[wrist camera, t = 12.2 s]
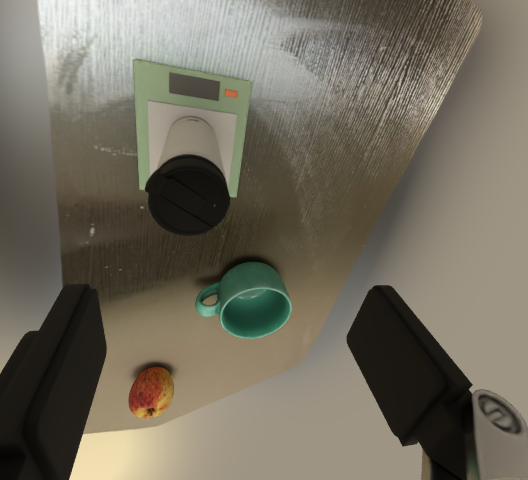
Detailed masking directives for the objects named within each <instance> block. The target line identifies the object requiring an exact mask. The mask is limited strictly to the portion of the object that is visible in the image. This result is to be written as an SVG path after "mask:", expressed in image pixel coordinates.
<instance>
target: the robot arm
mask: <svg viewBox="0 0 528 480" xmlns="http://www.w3.org/2000/svg"><path fill="white" fill-rule="evenodd" d="M347 344H348V346H349V348H350V350H351V352H352V354H353V356H354V358H355V360H356V362H357V364H358V366H359V368H360V370H361V372H362V374H363V376H364V378H365V380H366V382H367V384H368V386H369V388H370V390H371V392H372V393H373V396H374V397H375V399H376V401H377V403H378V405H379V407H380V409H381V411H382V413H383V415H384V417H385V419H386V421H387V423H388V425H389V427H390V429H391V431H392V432H393V434H394V435H395V436H397V437H398V438H399V440H400V442H401V444H402V446H408V445H414V444H417V443H418V442H419V443H420V445H421V446H422V448H423V456H422V479H421V480H528V427H527V425H526V422H525V420H524V419H523V417H522V416H521V414H520V413H519V412H518V411H517V410H516V409H515V407H514V406H513V405H512V404H510V403H509V402H508V401H507V400H505V399H504V398H502V397H501V396H499V395H498V394H496V393H493V392H491V391H489V390H484V389H479V390H476V391H475V392H474V393H473V394H472V393H471V392H470V391H469V388H470V387H471V386H472V383H471V382H470V381H469V380H468V378H467V377H466V376H465V375H464V374H463V372H462V371H461V370H460V369H459V368H458V366H457V365H456V364H455V363H454V362H453V360H452V359H451V358H450V357H449V355H448V354H447V353H446V352H445V350H444V349H443V348H442V347H441V346H440V345H439V343H438V342H437V341H436V339H435V338H434V337H433V336H432V335H431V333H430V332H429V331H428V330H427V329H426V327H425V326H424V325H423V324H422V322H421V321H420V320H419V319H418V318H417V317H416V315H415V314H414V313H413V311H412V310H411V309H410V308H409V307H408V305H407V304H406V303H405V302H404V301H403V299H402V298H401V297H400V296H399V294H398V293H397V292H396V291H395V290H394V288H392V287H391V286H389V285H376V286H374V287H373V288H372V289H371V290H369V291H368V294H367V295H366V298H365V299H364V302H363V304H362V306H361V308H360V310H359V312H358V314H357V316H356V318H355V320H354V322H353V324H352V326H351V328H350V331H349V332H348V334H347ZM106 351H107V346H106V340H105V334H104V328H103V322H102V317H101V311H100V305H99V299H98V293H97V290H96V289H91V288H90V285H89V284H66V285H65V286H64V287H63V289H62V290H61V292H60V294H59V296H58V297H57V299H56V301H55V303H54V305H53V306H52V308H51V310H50V312H49V314H48V315H47V317H46V319H45V321H44V322H43V324H42V326H41V328H40V329H39V331H29V332H28V333H26V334H25V335H24V336H23V338H22V339H21V340H20V342H19V344H18V346H17V347H16V349H15V350H14V352H13V354H12V355H11V357H10V359H9V360H8V362H7V364H6V365H5V367H4V368H3V370H2V372H1V374H0V480H69V478H70V475H71V472H72V468H73V464H74V462H75V458H76V455H77V452H78V448H79V445H80V441H81V438H82V435H83V431H84V428H85V425H86V421H87V418H88V415H89V411H90V408H91V405H92V401H93V398H94V395H95V391H96V388H97V384H98V381H99V378H100V374H101V371H102V368H103V364H104V361H105V357H106Z"/></svg>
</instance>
